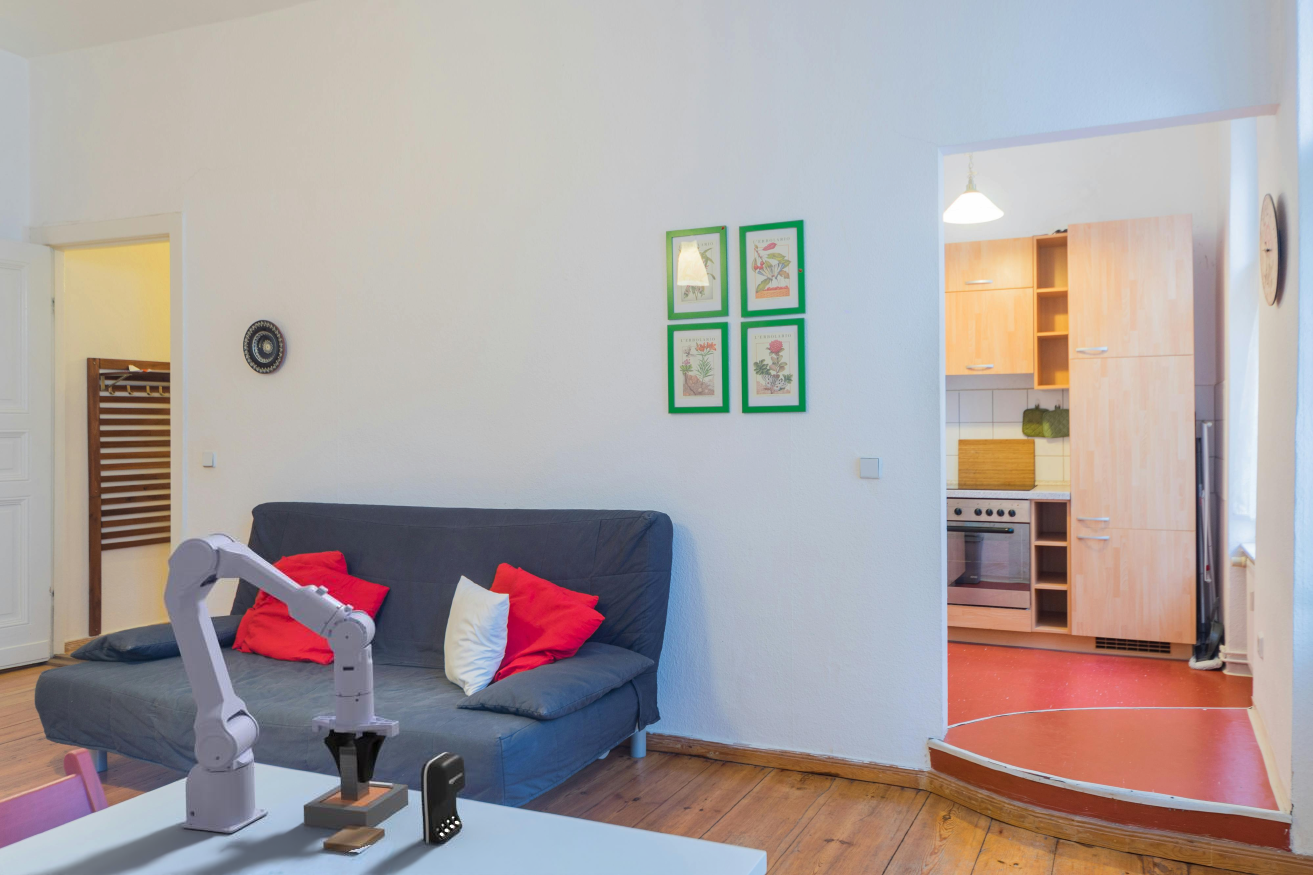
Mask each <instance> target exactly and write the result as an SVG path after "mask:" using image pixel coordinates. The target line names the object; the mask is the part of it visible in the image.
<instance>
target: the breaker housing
mask: <svg viewBox="0 0 1313 875" xmlns="http://www.w3.org/2000/svg"><path fill="white" fill-rule="evenodd" d="M369 787H377V788H388V789H391V790H390V791H388V792H386V793H385V794H383V795H382V796H380V797H378V798H377V799H375V800H374V801H372V802H370V803H369V804H367V805H366V806H364V807H358V806H348V805H339V804H329V803H321V802H323V801H325V800H327V799H328V798H330V797H332V796H334V795H335V794H337V793H339V792H341V784H339V785H337V786H335V787H333V788H332V789H330V790H329V791H326V792H325V793H323V794H321V795H319V796H318V797H316V798H314V799H313V800H310V801H308V802H307V803H305V804H304V805H303V825H304V826H306V827H314V828H315V827H317V828H324V829H325V828H326V829H335V830H343V829H344V828H346V827H348V826H349V825H353V826H362V827H371V828H376V826H378V825H379V824H381V823H382V822H383V821H385V820H387V819H388V818H390V817H391V816H393V815H394V814H396V813H397V812H398V811H400V810H402V809H403V808H404V807H406V806H408V805H409V785H408V784H402V783H401V784H400V783H393V782H392V783H391V782H383V781H382V782H381V781H371V780H369Z"/></svg>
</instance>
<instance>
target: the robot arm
mask: <svg viewBox="0 0 1313 875" xmlns="http://www.w3.org/2000/svg"><path fill="white" fill-rule="evenodd" d="M167 564H168V567H169V571H168V576H167V580H166V583H165V584H166V585H165V589H164V594H163V601H164V605H165V608H166V611H167V614H168V619H169V620H170V624H171V628H172V632H173V634H174V636H175V641H176V644H177V646H178V649H179V653H180V657H181V659H182V663H183V666H184V669H185V672H186V675H187V679H188V681H189V685H190V687H191V691H192V694H193V697H194V701H195V704H196V707H197V712H196V716H195V720H194V723H193V730H194V731H193V732H194V734H195V744H194V755H195V758H196V761H197V762H198V763H196V764H195V765H194V766H193V767H192V768H191V769H190V771H189V772H188V774H187V777H186V781H185V817H186V822H183V823H182V825H181V827H182V828H183V829H190V830H191V829H193V830H198V831H199V830H201V831H206V832H207V831H209V832H218V833H227V834H232V833H235V832H236V831H238V830H240V829H242V828H244V827H245V826H248V825H249V824H251V823H254V822H255V821H256V820H258V819H260V818H262V817H264V816H266V815H267V814H268V813H269V810H268V809H261V808H256V795H255V794H256V793H255V791H256V790H255V789H256V788H255V787H256V786H255V760H254V758H255V757H254V753H253V749H252V748H253V746H254V745H255V744H256V742H257V741H258V738H259V736H260V728H259V723H258V722H257V720H256V719H255V717H254V716H253V715H252V714H250V713H249V711H248V709H247V706H246V704H245V703H246V702H245V701H243V700H242V699H241V698H240V697H239V696H237V695H236V694H235V691H234V688H233V685H232V682H231V678H230V675H229V673H228V669H227V666H226V662H225V660H224V655H223V653H222V649H221V646H220V644H219V641H218V637H217V634H216V630H215V627H214V624H213V622H212V618H211V614H210V610H209V608H208V605H207V602H206V601H207V600H206V598H207V597H208V595H209V594H210V592H211V591H212V589H213V588H214V586H215V585H216V583H217V582H218V580H220V579H243V580H245V581H246V582H248V583H250V584H251V585H252V586H255V587H257V588H258V589H261V590H262V591H263V592H265V593H266V594H269V595H271V596H272V597H274V598H276V599H278V600H279V601H280V602H282V603H284V604H286V605H287V610H288V614H289V616H290V617H291V618H292V619H294V620H295V621H297V622H298V623H300V624H302V625H303V626H304V627H306V628H307V629H309V630H310V631H312V632H314V633H315V634H317V635H318V636H320V637H322V638H323V639H327V644H328V647H329V648H330V650H331V651H332V652H333V659H334V660H333V662H334V664H333V678H334V681H333V682H334V683H333V684H334V714H335V715H329V716H327V715H326V716H325V715H319V716H317V717H315V718H312V719H311V729H312V730H311V732H313V733H319V732H328V736H326V737H324V739H323V742H324V744H325V746H326V748H328V750H329V752H330V754H331V755H332V757H333V759H334V762H335V765H336V767H337V771H338V775H339V776H340V754H339V748H340V747H341V746H343V745H345V744H347V743H349V742H351V741H353V743H354V745H355V748H356V751H357V755H358V760H359V774H360V780H361V783H366V782H368V781H371V780H372V779H373V778H374V777H373V776H374V772H375V771H374V770H375V767H376V763H377V758H378V755H379V753H380V750H381V748H382V745H383V743H384V741H385V740H386V738H393V737H395V736H397V735H399V734H400V726H399V725H400V721H399V720H393V719H392V720H391V719H388V718H387V719H386V718H383V717H379V716H375V705H374V704H375V703H374V702H375V700H374V670H373V669H374V668H373V667H374V666H373V658H372V655H373V653H372V644H371V641H372V640H373V639H374V636H375V633H376V624H375V621H374V620H373V618H372V617H371V616H369V615H368V612H366V611H364V610H360V609H359V610H358V609H357V610H353V609H354V606H352V605H350V604H347V605H345V604H344V603H342V602H340V601H339V600H338V599H336V598H334V597H333V596H332V595H330V594H328V592H329V589H328V588H326V587H325V586H324V585H320V586H318V587H317V585H314V584H310V585H306V586H301V585H300V584H299V583H297V582H296V581H294V580H293V579H291V578H290V577H289V576H287V575H286V574H284V573H283V572H282V571H281V570H280V569H278V568H277V567H275V566H274V565H272V564H271V563H269V562H268V561H266V560H265V559H264V558H262V556H260V555H259V554H257V553H256V552H254V551H253V550H252V549H251V548H250V547H249V546H247V545H246V544H245V543H242V542H241V541H236V540H235V539H234V538H233V537H232V536H230V535H228V534H226V533H221V532H220V533H219V532H218V533H212V534H210V535H207V536H202V537H194V538H193V537H192V538H189V539H186V540H183V541H182V542H181V543H180V544H179V545H178V546H176V549H175V550H174V552H172V554H171V556H170V557H169V558H168V560H167ZM357 734H362V736H361V735H360V736H359V737H357Z"/></svg>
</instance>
